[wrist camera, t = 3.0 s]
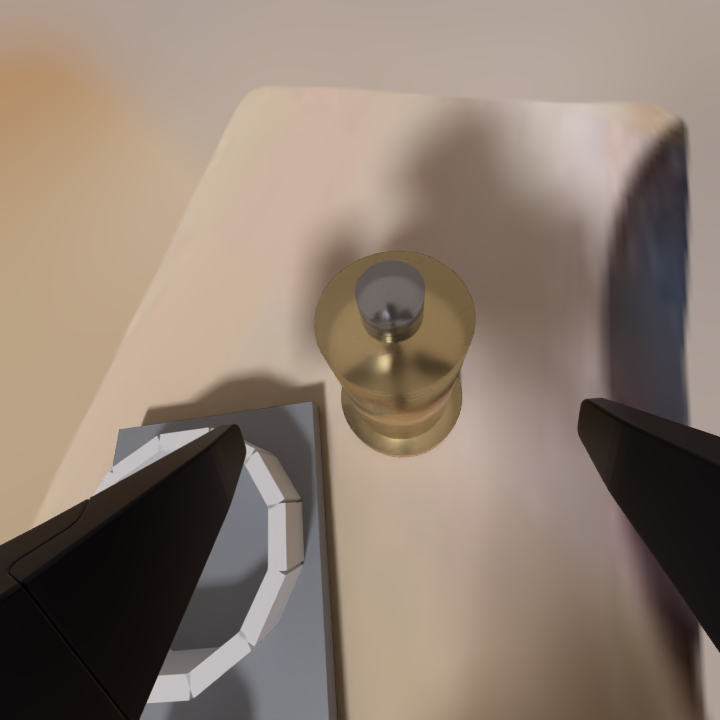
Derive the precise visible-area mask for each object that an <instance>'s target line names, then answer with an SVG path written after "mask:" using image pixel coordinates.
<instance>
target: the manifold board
mask: <svg viewBox="0 0 720 720" xmlns="http://www.w3.org/2000/svg"><path fill="white" fill-rule="evenodd" d="M233 423H235V424H237V425H238V426H239V427H240V430H241V433H242V436H243V439H244V442H245V446H246V458H245V461H244V464H243V468H242V471H241V474H240V477H239V481H238V484H237V487H236V490H235V494H234V497H233V500H232V503H231V506H230V508H229V511H228V513H227V516H226V518H225V520H224V523H223V525H222V527H221V530H220V532H219V534H218V537H217V539H216V542H215V544H214V546H213V549H212V551H211V553H210V556H209V558H208V560H207V563H206V565H205V567H204V570H203V572H202V574H201V577H200V579H199V581H198V584H197V586H196V588H195V591H194V593H193V595H192V598H191V600H190V603H189V605H188V607H187V610H186V612H185V614H184V617H183V619H182V621H181V624H180V626H179V628H178V631H177V633H176V635H175V638H174V640H173V642H172V645H171V647H170V649H169V652H168V654H167V657H166V659H165V661H164V664H163V666H162V668H161V671H160V673H159V675H158V678H157V680H156V682H155V685H154V687H153V689H152V692H151V694H150V696H149V699H148V701H147V703H146V706H145V708H144V710H143V713H142V715H141V718H140V720H337V705H336V688H335V671H334V654H333V638H332V621H331V604H330V587H329V571H328V554H327V537H326V521H325V504H324V487H323V470H322V454H321V437H320V420H319V408H318V407H317V406H316V405H315V404H314V403H313V402H305V403H298V404H291V405H284V406H277V407H270V408H264V409H257V410H250V411H243V412H236V413H229V414H222V415H215V416H209V417H202V418H195V419H188V420H181V421H174V422H167V423H160V424H154V425H147V426H140V427H133V428H126V429H119V433H118V439H117V445H116V450H115V456H114V461H113V467H112V471H108V473H107V474H106V476H105V477H104V479H103V480H102V482H101V484H100V485H99V487H98V488H97V490H96V491H95V493H94V494H93V496H94V495H96V494H97V493H99V492H101V491H103V490H105V489H106V488H108V487H110V486H112V485H114V484H115V483H117V482H119V481H121V480H123V479H124V478H126V477H128V476H130V475H132V474H134V473H135V472H137V471H139V470H141V469H143V468H144V467H146V466H148V465H150V464H152V463H153V462H155V461H157V460H159V459H161V458H162V457H164V456H166V455H168V454H170V453H171V452H173V451H175V450H177V449H179V448H180V447H182V446H184V445H186V444H188V443H189V442H191V441H193V440H195V439H197V438H198V437H200V436H202V435H204V434H206V433H208V432H209V431H211V430H213V429H215V428H217V427H218V426H220V425H222V424H233Z"/></svg>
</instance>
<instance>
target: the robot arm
mask: <svg viewBox="0 0 720 720" xmlns="http://www.w3.org/2000/svg"><path fill="white" fill-rule="evenodd" d="M577 429H578V435H579V437H580V439H581V441H582V443H583V445H584V447H585V448H586V450H587V452H588V454H589V456H590V458H591V460H592V461H593V463H594V465H595V467H596V469H597V471H598V472H599V474H600V476H601V478H602V480H603V482H604V483H605V485H606V487H607V489H608V490H609V492H610V493H611V495H612V496H613V498H614V499H615V501H616V502H617V504H618V505H619V507H620V508H621V510H622V511H623V513H624V514H625V515H626V517H627V518H628V520H629V521H630V523H631V524H632V526H633V527H634V529H635V530H636V531H637V533H638V534H639V536H640V537H641V539H642V540H643V542H644V543H645V545H646V546H647V548H648V549H649V550H650V552H651V553H652V555H653V556H654V558H655V559H656V561H657V562H658V564H659V565H660V566H661V568H662V569H663V571H664V572H665V574H666V575H667V577H668V578H669V580H670V581H671V582H672V584H673V585H674V587H675V588H676V590H677V591H678V593H679V594H680V596H681V597H682V598H683V600H684V601H685V603H686V604H687V606H688V607H689V609H690V610H691V612H692V613H693V614H694V616H695V617H696V619H697V620H698V622H699V623H700V625H701V626H702V628H703V629H704V631H705V632H706V633H707V635H708V636H709V638H710V639H711V641H712V642H713V644H714V645H715V647H716V648H717V649H718V651H719V652H720V437H718V436H716V435H713V434H710V433H707V432H704V431H701V430H698V429H695V428H692V427H689V426H686V425H683V424H680V423H677V422H674V421H671V420H668V419H665V418H662V417H659V416H656V415H653V414H650V413H646V412H643V411H640V410H637V409H634V408H631V407H628V406H625V405H622V404H619V403H616V402H613V401H610V400H607V399H604V398H591V399H585V400H583V401H582V403H581V406H580V413H579V420H578V427H577ZM245 458H246V446H245V442H244V439H243V436H242V433H241V430H240V427H239V426H238V425H237V424H235V423H233V424H222V425H220V426H218V427H217V428H215V429H213V430H211V431H209V432H208V433H206V434H204V435H202V436H200V437H198V438H197V439H195V440H193V441H191V442H189V443H188V444H186V445H184V446H182V447H180V448H179V449H177V450H175V451H173V452H171V453H170V454H168V455H166V456H164V457H162V458H161V459H159V460H157V461H155V462H153V463H152V464H150V465H148V466H146V467H144V468H143V469H141V470H139V471H137V472H135V473H134V474H132V475H130V476H128V477H126V478H124V479H123V480H121V481H119V482H117V483H115V484H114V485H112V486H110V487H108V488H106V489H105V490H103V491H101V492H99V493H97V494H96V495H94V496H92V497H91V498H90V500H89V499H87V500H85V501H83V502H81V503H79V504H77V505H76V506H74V507H72V508H70V509H68V510H67V511H65V512H63V513H61V514H59V515H57V516H55V517H54V518H52V519H50V520H48V521H46V522H44V523H42V524H41V525H39V526H37V527H35V528H33V529H31V530H29V531H27V532H25V533H23V534H22V535H19V536H17V537H16V538H14V539H12V540H10V541H8V542H6V543H4V544H2V545H0V720H140V718H141V715H142V713H143V710H144V708H145V706H146V703H147V701H148V699H149V696H150V694H151V692H152V689H153V687H154V685H155V682H156V680H157V678H158V675H159V673H160V671H161V668H162V666H163V664H164V661H165V659H166V657H167V654H168V652H169V649H170V647H171V645H172V642H173V640H174V638H175V635H176V633H177V631H178V628H179V626H180V624H181V621H182V619H183V617H184V614H185V612H186V610H187V607H188V605H189V603H190V600H191V598H192V595H193V593H194V591H195V588H196V586H197V584H198V581H199V579H200V577H201V574H202V572H203V570H204V567H205V565H206V563H207V560H208V558H209V556H210V553H211V551H212V549H213V546H214V544H215V542H216V539H217V537H218V534H219V532H220V530H221V527H222V525H223V523H224V520H225V518H226V516H227V513H228V511H229V508H230V506H231V503H232V500H233V497H234V494H235V490H236V487H237V484H238V481H239V477H240V474H241V471H242V468H243V464H244V461H245Z"/></svg>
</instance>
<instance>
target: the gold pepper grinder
mask: <svg viewBox="0 0 720 720" xmlns="http://www.w3.org/2000/svg"><path fill="white" fill-rule="evenodd" d="M474 328H475V309H474V304H473V301H472V298H471V295H470V293H469V291H468V289H467V287H466V285H465V284H464V283H463V281H462V280H461V278H460V277H459V276H458V275H457V274H456V273H455V272H454V271H453V270H451V269H450V268H449V267H448V266H446V265H445V264H443V263H441V262H440V261H438V260H436V259H433V258H431V257H429V256H426V255H423V254H418V253H414V252H406V251H391V252H382V253H378V254H373V255H370V256H367V257H364V258H362V259H360V260H358V261H356V262H354V263H352V264H351V265H349V266H347V267H346V268H345V269H343V270H342V271H341V272H340V273H339V274H337V275H336V276H335V277H334V278H333V280H332V281H331V282H330V283H329V284H328V286H327V287H326V289H325V290H324V292H323V294H322V296H321V298H320V300H319V303H318V306H317V309H316V314H315V336H316V339H317V343H318V346H319V348H320V351H321V353H322V355H323V356H324V358H325V360H326V361H327V363H328V364H329V366H330V368H331V369H332V371H333V372H334V374H335V376H336V377H337V379H338V381H339V382H340V384H341V385H342V391H341V402H342V408H343V412H344V415H345V418H346V420H347V422H348V424H349V426H350V427H351V429H352V430H353V431H354V433H355V434H356V435H357V436H358V437H359V439H360V440H362V441H363V442H364V443H365V444H366V445H367V446H369V447H370V448H372V449H373V450H375V451H377V452H379V453H382V454H385V455H389V456H393V457H411V456H417V455H420V454H423V453H426V452H428V451H430V450H432V449H433V448H435V447H436V446H438V445H439V444H440V443H441V442H442V441H443V440H444V439H445V438H446V437H447V436H448V435H449V433H450V432H451V430H452V428H453V427H454V425H455V423H456V421H457V419H458V417H459V414H460V410H461V404H462V390H461V384H460V381H459V378H458V374H459V372H460V369H461V366H462V364H463V361H464V359H465V356H466V354H467V351H468V348H469V346H470V343H471V340H472V337H473V334H474Z"/></svg>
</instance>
